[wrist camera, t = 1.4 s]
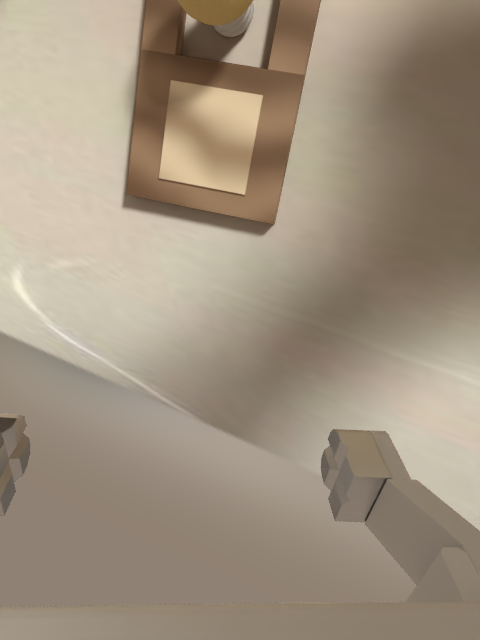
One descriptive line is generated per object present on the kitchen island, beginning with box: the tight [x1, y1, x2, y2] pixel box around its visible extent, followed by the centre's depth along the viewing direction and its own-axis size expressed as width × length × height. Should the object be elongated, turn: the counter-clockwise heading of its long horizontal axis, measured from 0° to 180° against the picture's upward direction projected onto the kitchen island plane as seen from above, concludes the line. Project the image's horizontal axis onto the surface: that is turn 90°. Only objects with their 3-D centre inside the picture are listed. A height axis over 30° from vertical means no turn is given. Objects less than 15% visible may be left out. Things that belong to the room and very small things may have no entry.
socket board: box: [126, 0, 321, 224], centre depth 35 cm, size 22×14×2 cm, turn 169°
